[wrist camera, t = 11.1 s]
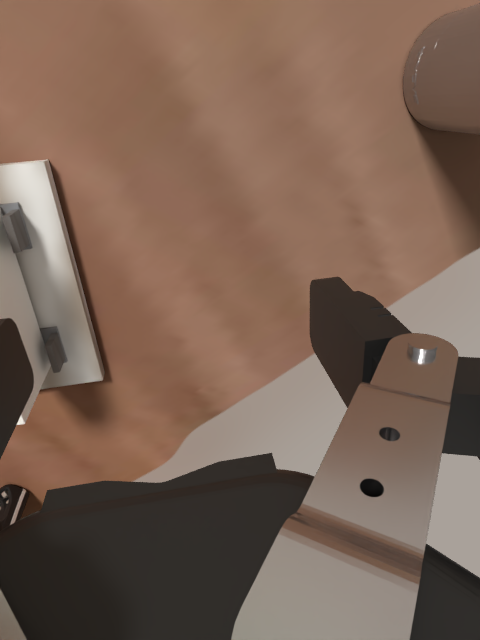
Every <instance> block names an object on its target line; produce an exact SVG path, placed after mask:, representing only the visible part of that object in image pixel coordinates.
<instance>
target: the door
mask: <svg viewBox="0 0 480 640" xmlns="http://www.w3.org/2000/svg"><path fill="white" fill-rule="evenodd" d="M2 216H3V214H2V211H1V208H0V319H4V318H11V319H12V320H13V321H14V322H15V323H16V325H17V328H18V330H19V333H20V336H21V339H22V341H23V344H24V347H25V350H26V353H27V355H28V358H29V361H30V364H31V367H32V370H33V375H34V386H33V390H32V393H31V395H30V397H29V399H28V401H27V403H26V406H25V408H24V410H23V412H22V414H21V416H20V418H19V420H18V422H17V425H20V424H25V422H26V420H27V418H28V415H29V413H30V411H31V409H32V407H33V404H34V402H35V400H36V398H37V395H38V393H39V391H40V389H41V386H42V384H43V382H44V380H45V378H46V375H47V373H48V371H49V369H50V366H51V364H50V361H49V358H48V355H47V352H46V349H45V344H44V341H43V338H42V335H41V332H40V329H39V325H38V322H37V319H36V316H35V313H34V310H33V307H32V304H31V301H30V298H29V295H28V292H27V288H26V285H25V282H24V279H23V276H22V273H21V270H20V267H19V264H18V261H17V258H16V255H15V253H13V250H12V247H11V244H10V241H9V238H8V235H7V232H6V229H5V226H4V223H3V220H2Z"/></svg>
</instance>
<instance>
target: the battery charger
mask: <svg viewBox="0 0 480 640" xmlns="http://www.w3.org/2000/svg"><path fill="white" fill-rule="evenodd" d="M28 497H29V492H27V491H26V490H25V489H21V488H20V487H17V486H15V485H5V486H3V487H2V488H0V531H1V530H3V529H4V528H6V527H7V526H9V525H11V524H13V523H14V522H16V521H18V520H20V519H21V516H22V513H23V510H24V507H25V505H26V502H27V499H28Z"/></svg>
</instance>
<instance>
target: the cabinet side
mask: <svg viewBox="0 0 480 640" xmlns="http://www.w3.org/2000/svg"><path fill="white" fill-rule="evenodd" d="M0 208H1V211H2V214H3V216H2V220H3V223H4V226H5V229H6V232H7V235H8V238H9V241H10V244H11V247H12V250H13V253H15V255H16V258H17V261H18V264H19V267H20V270H21V273H22V276H23V279H24V282H25V285H26V288H27V292H28V295H29V298H30V301H31V304H32V307H33V310H34V313H35V316H36V319H37V322H38V325H39V329H40V332H41V335H42V338H43V341H44V344H45V349H46V352H47V355H48V358H49V361H50V364H51V366H50V369H49V371H48V373H47V375H46V378H45V380H44V382H43V384H42V386H41V389H46V388H53V387H60V386H67V385H74V384H81V383H88V382H95V381H102V380H103V378H104V374H105V371H104V367H103V364H102V360H101V356H100V352H99V349H98V345H97V341H96V337H95V333H94V330H93V326H92V322H91V318H90V315H89V311H88V307H87V303H86V299H85V296H84V292H83V288H82V284H81V281H80V277H79V273H78V269H77V265H76V262H75V258H74V254H73V250H72V247H71V243H70V239H69V235H68V231H67V228H66V224H65V220H64V216H63V213H62V209H61V205H60V201H59V197H58V194H57V190H56V186H55V182H54V179H53V175H52V171H51V167H50V164H49V160H38V161H27V162H16V163H6V164H0Z"/></svg>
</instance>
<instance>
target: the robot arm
mask: <svg viewBox="0 0 480 640" xmlns="http://www.w3.org/2000/svg"><path fill="white" fill-rule="evenodd" d="M403 92H404V98H405V102H406V105H407V107H408V109H409V112H410V113H411V114H412V116H413V117H414V118H415V120H417V121H418V122H419V123H420V124H421V125H423V126H425V127H428V128H430V129H434V130H442V131H451V132H460V133H469V134H479V135H480V3H479V4H476V5H473V6H470V7H467V8H464V9H461V10H458V11H455V12H452V13H449V14H446V15H444V16H442V17H441V18H439V19H437V20H435V21H434V22H433V23H432V24H431V25H429V26H428V27H427V28H426V29H425V30H424V31H423V33H422V34H421V35H420V36H419V38H418V39H417V40H416V42H415V44H414V46H413V47H412V49H411V51H410V53H409V56H408V59H407V62H406V65H405V70H404V76H403ZM310 338H311V343H312V347H313V350H314V352H315V354H316V355H317V357H318V359H319V360H320V362H321V364H322V365H323V367H324V369H325V371H326V372H327V374H328V376H329V377H330V379H331V381H332V382H333V384H334V386H335V388H336V389H337V391H338V392H339V394H340V396H341V398H342V399H343V401H344V403H345V404H346V406H347V408H348V409H347V411H346V413H345V415H344V417H343V419H342V421H341V423H340V425H339V428H338V430H337V432H336V434H335V436H334V438H333V440H332V442H331V444H330V446H329V448H328V451H327V452H326V454H325V457H324V459H323V461H322V463H321V465H320V467H319V469H318V471H317V473H316V475H315V477H314V476H311V475H308V474H304V473H300V472H296V471H289V470H278V469H276V466H275V463H274V459H273V456H272V453H269V454H263V455H257V456H251V457H245V458H239V459H233V460H227V461H221V462H217V463H214V464H212V465H209V466H206V467H204V468H201V469H198V470H196V471H193V472H190V473H188V474H185V475H182V476H180V477H177V478H175V479H172V480H169V481H166V482H162V483H147V482H146V483H145V482H122V481H100V482H94V483H88V484H82V485H76V486H70V487H64V488H58V489H52V490H47V493H46V496H45V499H44V503H43V506H42V509H41V510H40V511H37V512H35V513H32V514H30V515H28V516H26V517H24V518H22V519H20V520H18V521H16V522H14V523H13V524H11V525H9V526H7V527H6V528H4V529H3V530H1V531H0V640H480V578H479V577H478V576H476V575H474V574H473V573H471V572H470V571H468V570H467V569H465V568H463V567H462V566H460V565H459V564H457V563H456V562H454V561H452V560H451V559H449V558H448V557H446V556H445V555H443V554H442V553H440V552H438V551H437V550H435V549H434V548H432V547H431V546H429V545H428V544H426V540H427V534H428V529H429V523H430V517H431V512H432V506H433V500H434V494H435V488H436V483H437V477H438V472H439V466H440V460H441V454H442V453H447V454H457V455H469V456H477V457H478V458H479V460H480V358H470V357H469V358H468V357H458V351H457V349H456V348H455V347H454V346H453V345H452V344H451V343H449V342H448V341H445V340H444V339H441V338H439V337H436V336H432V335H427V334H419V333H411V332H410V331H409V330H408V329H407V328H406V327H405V326H404V325H403V324H402V323H400V321H399V320H397V318H395V317H394V316H393V315H391V313H390V312H389V311H388V310H387V309H386V308H384V306H383V305H382V304H381V303H380V302H379V301H377V300H376V299H375V298H374V297H372V296H370V295H367V294H365V293H363V292H360V291H355V292H354V291H353V290H352V289H351V288H350V287H349V286H348V285H347V284H346V283H345V282H344V281H343V280H342V279H341V278H340V277H332V278H324V279H317V280H312V282H311V285H310ZM33 386H34V375H33V370H32V367H31V364H30V361H29V358H28V355H27V353H26V350H25V347H24V344H23V341H22V339H21V336H20V333H19V330H18V328H17V325H16V323H15V322H14V321H13V320H12V319H11V318H4V319H0V458H1V456H2V454H3V452H4V450H5V448H6V446H7V444H8V441H9V439H10V437H11V435H12V433H13V431H14V429H15V427H16V425H17V422H18V420H19V418H20V416H21V414H22V412H23V410H24V408H25V406H26V403H27V401H28V399H29V397H30V395H31V393H32V390H33Z"/></svg>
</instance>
